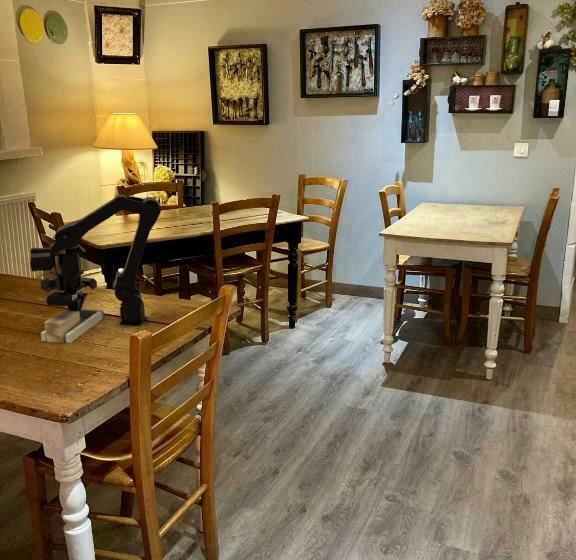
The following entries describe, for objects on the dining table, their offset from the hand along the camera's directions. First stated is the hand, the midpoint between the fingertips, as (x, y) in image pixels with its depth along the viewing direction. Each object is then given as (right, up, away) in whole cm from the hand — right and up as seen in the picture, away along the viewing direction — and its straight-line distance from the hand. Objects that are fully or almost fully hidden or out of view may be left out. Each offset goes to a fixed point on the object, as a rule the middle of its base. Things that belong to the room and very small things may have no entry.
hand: (75, 318), depth 176 cm
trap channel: (0, -3, -1) cm, 3 cm away
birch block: (-1, -5, -6) cm, 7 cm away
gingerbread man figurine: (-17, +5, +25) cm, 30 cm away
